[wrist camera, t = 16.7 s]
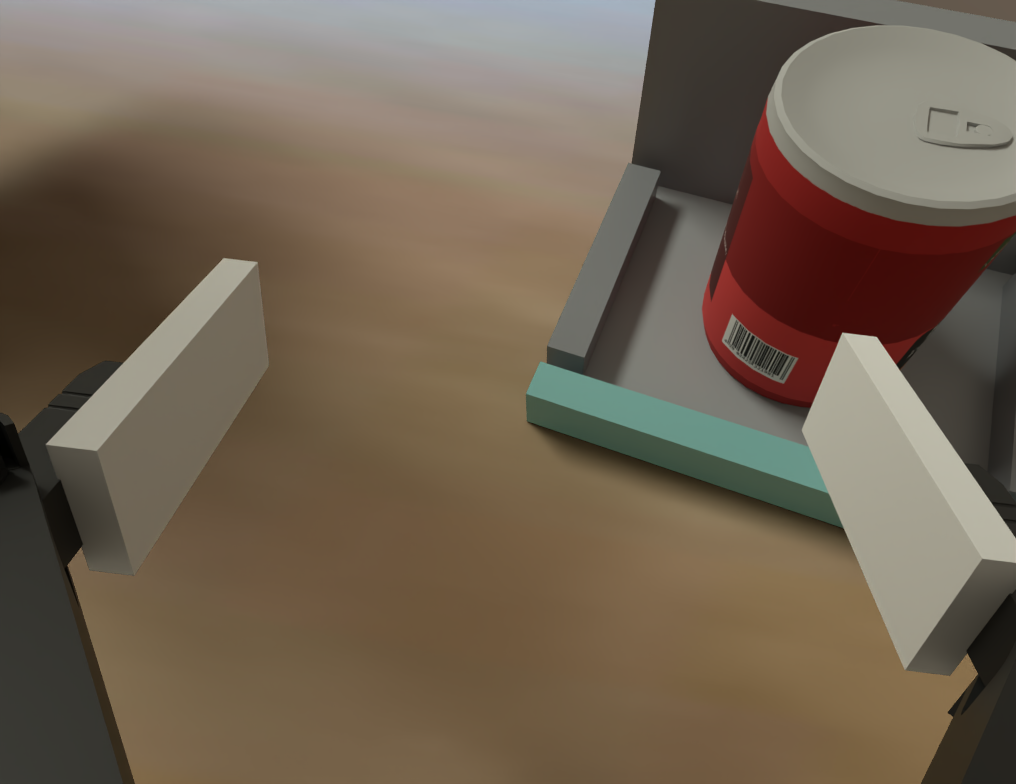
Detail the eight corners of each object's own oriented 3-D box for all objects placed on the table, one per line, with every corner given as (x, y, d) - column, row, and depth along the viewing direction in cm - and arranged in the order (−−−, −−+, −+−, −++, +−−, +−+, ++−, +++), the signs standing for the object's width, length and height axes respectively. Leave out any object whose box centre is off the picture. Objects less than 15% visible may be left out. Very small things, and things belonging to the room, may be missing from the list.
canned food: (916, 420, 27) (1120, 214, 18) (701, 409, 28) (787, 203, 18) (880, 263, 31) (1033, 23, 21) (692, 256, 32) (760, 18, 22)
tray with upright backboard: (526, 421, 28) (522, 253, 20) (637, 167, 35) (669, -41, 27) (1016, 586, 25) (1277, 468, 16) (1035, 266, 31) (1225, 60, 23)
